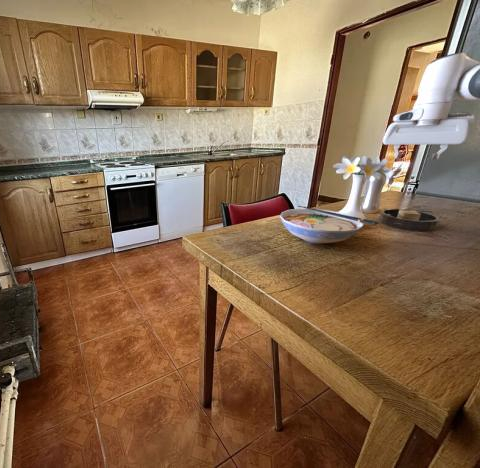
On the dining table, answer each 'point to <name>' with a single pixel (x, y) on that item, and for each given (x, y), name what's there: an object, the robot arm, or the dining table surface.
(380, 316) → the dining table surface
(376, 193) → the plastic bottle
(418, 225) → the pan
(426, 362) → the dining table surface
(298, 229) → the ramen bowl
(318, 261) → the dining table surface
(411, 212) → the block
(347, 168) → the flower vase
